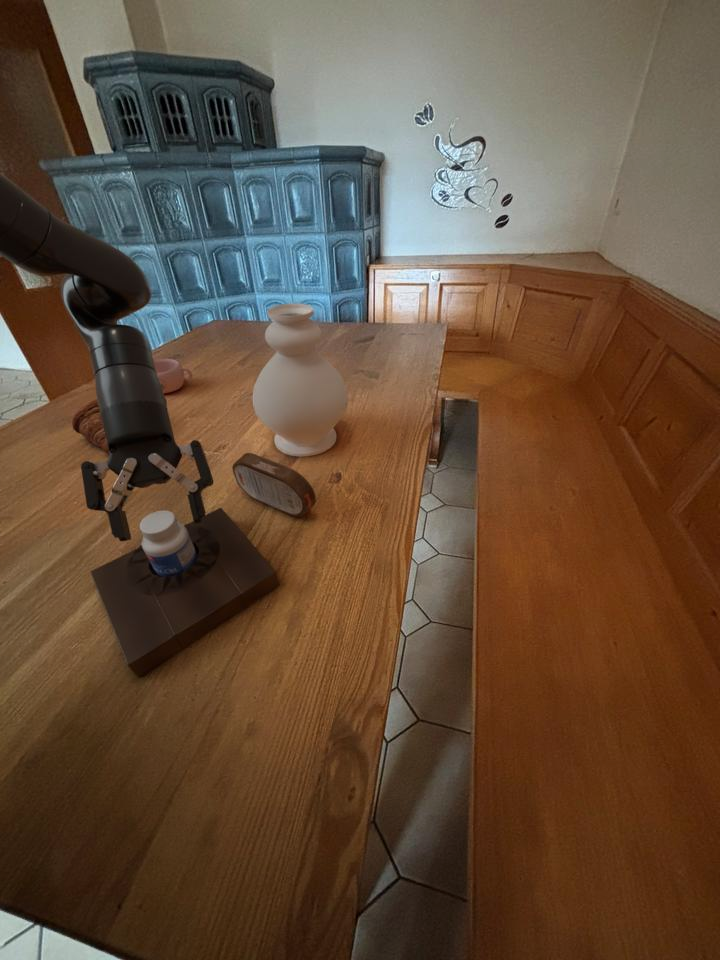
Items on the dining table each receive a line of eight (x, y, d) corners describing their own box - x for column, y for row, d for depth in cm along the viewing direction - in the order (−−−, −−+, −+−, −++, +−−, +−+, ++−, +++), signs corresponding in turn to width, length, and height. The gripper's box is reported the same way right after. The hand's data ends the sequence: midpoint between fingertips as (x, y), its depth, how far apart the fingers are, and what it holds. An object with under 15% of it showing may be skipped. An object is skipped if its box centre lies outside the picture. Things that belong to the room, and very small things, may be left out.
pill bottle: (150, 582, 51) (121, 533, 45) (174, 552, 55) (150, 502, 49) (186, 591, 50) (161, 541, 44) (208, 559, 54) (188, 509, 48)
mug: (140, 399, 92) (131, 376, 89) (151, 381, 100) (143, 359, 96) (192, 395, 94) (185, 372, 90) (199, 378, 101) (192, 356, 98)
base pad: (138, 678, 42) (127, 665, 40) (98, 581, 52) (88, 567, 50) (279, 585, 51) (276, 571, 49) (222, 518, 61) (218, 504, 59)
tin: (318, 514, 61) (314, 473, 56) (307, 527, 59) (301, 485, 54) (248, 484, 67) (238, 444, 62) (235, 494, 65) (224, 454, 60)
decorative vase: (366, 432, 80) (365, 304, 64) (311, 476, 69) (294, 335, 53) (301, 409, 88) (287, 290, 72) (242, 445, 77) (210, 314, 61)
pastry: (177, 421, 84) (164, 387, 79) (124, 461, 73) (105, 424, 68) (116, 410, 88) (100, 377, 83) (57, 446, 77) (35, 411, 72)
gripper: (56, 410, 44) (86, 548, 43) (187, 389, 48) (218, 515, 47) (85, 427, 51) (111, 546, 50) (197, 408, 55) (224, 517, 54)
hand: (163, 531), depth 48 cm, fingers open, 8 cm apart
